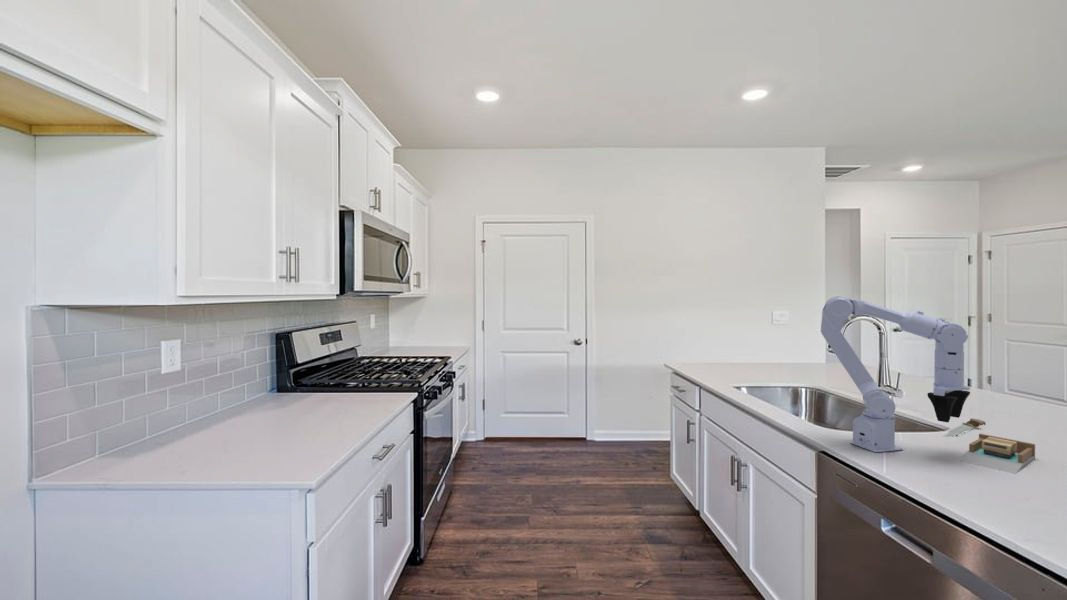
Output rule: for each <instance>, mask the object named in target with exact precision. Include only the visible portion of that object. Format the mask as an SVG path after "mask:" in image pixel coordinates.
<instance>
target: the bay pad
mask: <svg viewBox="0 0 1067 600" xmlns="http://www.w3.org/2000/svg"><path fill="white" fill-rule="evenodd" d="M975 453H976V454H981V455H985V456H990V457H994V458H999V459H1003V460H1008V461H1012V462H1017V461H1018V455H1010V458H1009V459H1008V458H1003V457H999V456H994V455H990V454H985V453H984V449H980V450H979V451H977V452H975Z"/></svg>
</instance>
